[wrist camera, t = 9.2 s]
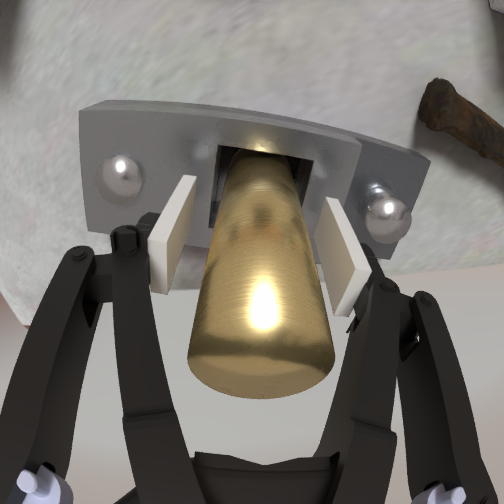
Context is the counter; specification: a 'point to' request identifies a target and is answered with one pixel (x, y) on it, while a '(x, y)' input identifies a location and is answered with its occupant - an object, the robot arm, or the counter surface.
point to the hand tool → (461, 120)
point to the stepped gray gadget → (243, 136)
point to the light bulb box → (497, 5)
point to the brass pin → (260, 289)
